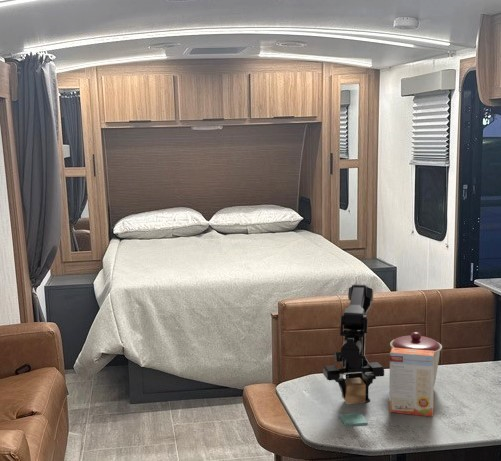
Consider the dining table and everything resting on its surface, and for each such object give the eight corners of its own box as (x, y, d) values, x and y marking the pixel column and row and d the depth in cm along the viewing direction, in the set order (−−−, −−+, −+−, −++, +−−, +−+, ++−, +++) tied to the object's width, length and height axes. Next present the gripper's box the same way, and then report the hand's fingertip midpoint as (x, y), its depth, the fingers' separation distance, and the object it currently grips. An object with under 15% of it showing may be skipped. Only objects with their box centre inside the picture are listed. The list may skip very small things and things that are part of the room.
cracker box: (433, 410, 209) (435, 350, 206) (432, 417, 204) (434, 356, 201) (390, 405, 214) (391, 346, 211) (388, 412, 208) (389, 352, 205)
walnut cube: (359, 394, 205) (359, 377, 204) (365, 402, 199) (365, 384, 198) (341, 396, 204) (341, 378, 203) (347, 404, 198) (347, 386, 198)
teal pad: (360, 414, 207) (360, 412, 207) (367, 424, 200) (367, 422, 200) (339, 416, 206) (339, 414, 206) (345, 426, 199) (345, 424, 199)
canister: (392, 397, 220) (393, 339, 217) (387, 378, 238) (387, 324, 235) (445, 399, 218) (446, 340, 215) (436, 379, 235) (437, 325, 232)
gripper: (373, 340, 209) (372, 384, 211) (318, 343, 206) (318, 388, 208) (385, 351, 198) (384, 397, 200) (327, 355, 195) (327, 402, 197)
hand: (353, 396), depth 202 cm, fingers closed on walnut cube, 6 cm apart
